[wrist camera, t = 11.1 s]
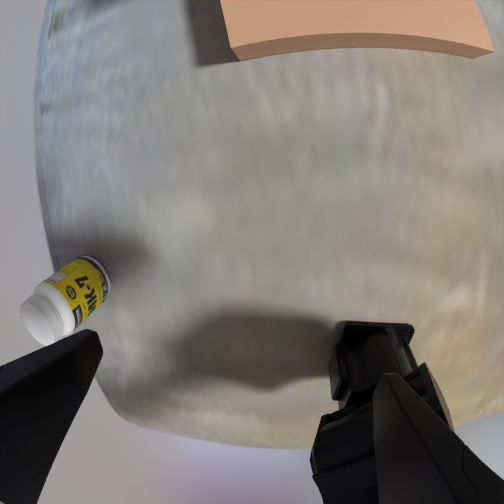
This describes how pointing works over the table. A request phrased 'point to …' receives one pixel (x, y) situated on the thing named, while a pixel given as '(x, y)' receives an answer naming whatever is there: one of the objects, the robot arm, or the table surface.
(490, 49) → the plate
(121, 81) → the table surface
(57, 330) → the supplement bottle
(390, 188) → the table surface
